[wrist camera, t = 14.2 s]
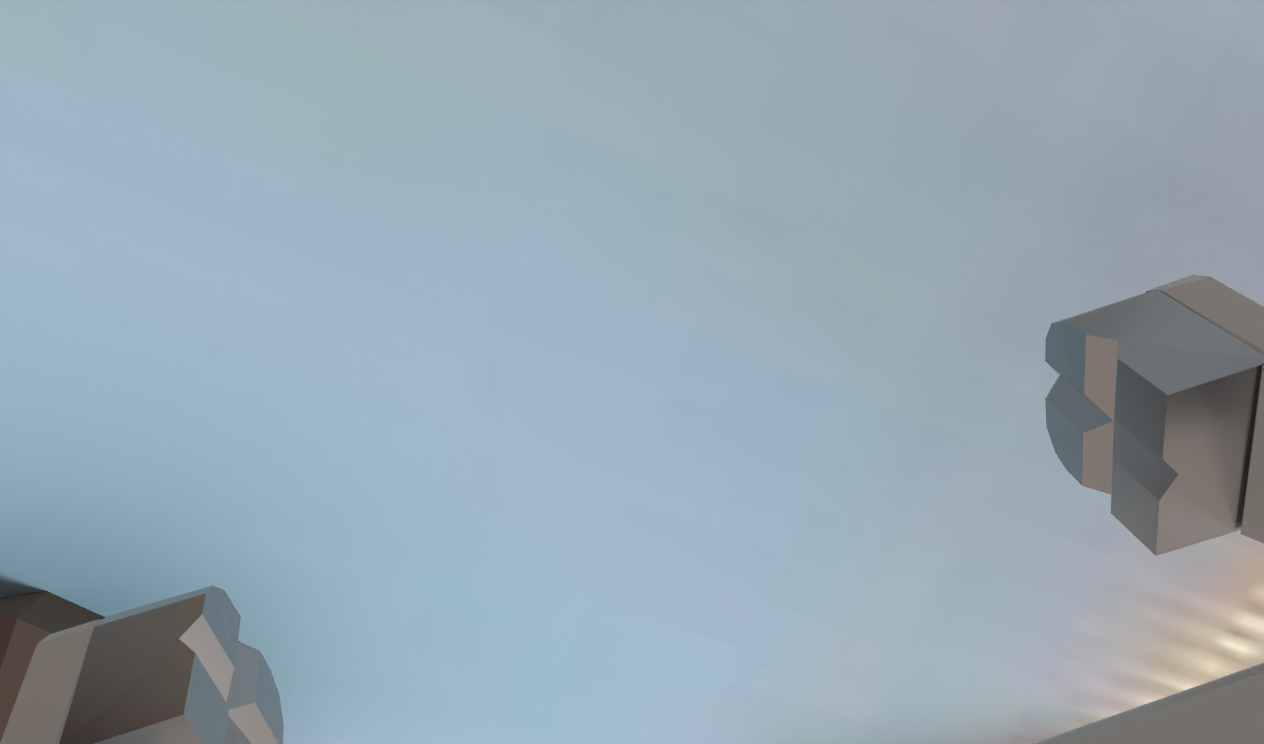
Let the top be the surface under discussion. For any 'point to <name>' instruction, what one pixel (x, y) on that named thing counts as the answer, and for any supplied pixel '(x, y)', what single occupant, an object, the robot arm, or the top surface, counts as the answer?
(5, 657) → the brown cauldron
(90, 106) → the top surface
